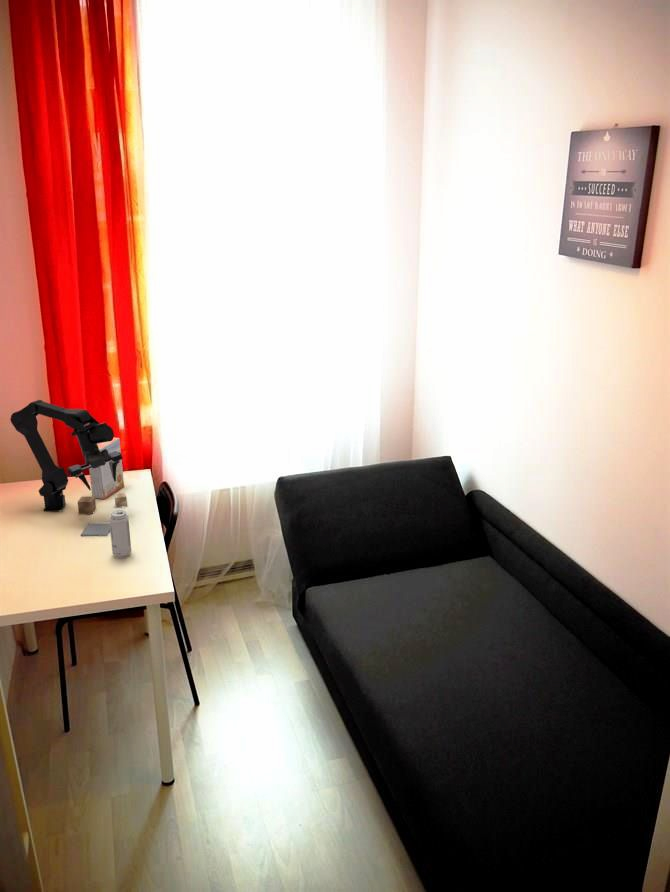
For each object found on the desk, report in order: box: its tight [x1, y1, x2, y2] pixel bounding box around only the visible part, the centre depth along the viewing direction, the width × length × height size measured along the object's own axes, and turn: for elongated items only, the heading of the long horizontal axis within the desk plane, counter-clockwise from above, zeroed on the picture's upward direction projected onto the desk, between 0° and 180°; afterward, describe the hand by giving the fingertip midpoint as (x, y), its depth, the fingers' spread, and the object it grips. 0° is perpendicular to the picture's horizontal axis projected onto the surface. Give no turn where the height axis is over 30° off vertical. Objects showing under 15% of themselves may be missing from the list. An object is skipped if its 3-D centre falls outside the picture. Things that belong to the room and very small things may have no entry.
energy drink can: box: [108, 509, 132, 559], centre depth 244 cm, size 6×6×15 cm
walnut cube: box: [77, 496, 97, 515], centre depth 277 cm, size 5×5×5 cm
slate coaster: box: [80, 522, 110, 537], centre depth 263 cm, size 9×9×1 cm
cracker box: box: [88, 437, 125, 500], centre depth 292 cm, size 14×6×21 cm, turn 162°
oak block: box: [113, 492, 128, 508], centre depth 283 cm, size 4×4×4 cm
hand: (102, 485), depth 269 cm, fingers open, 9 cm apart
